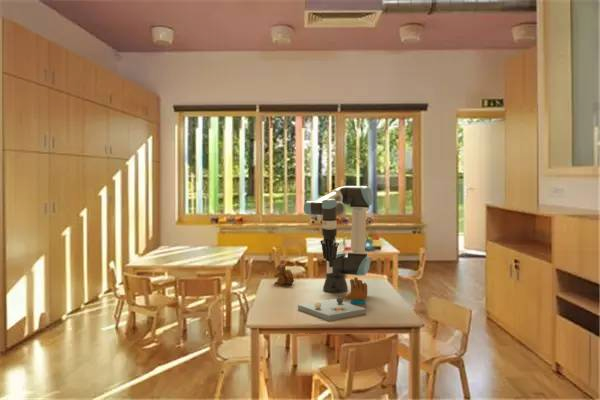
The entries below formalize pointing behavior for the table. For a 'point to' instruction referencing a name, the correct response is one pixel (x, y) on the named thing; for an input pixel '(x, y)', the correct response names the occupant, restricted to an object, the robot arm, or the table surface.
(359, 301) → the toy
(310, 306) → the grey flat plate
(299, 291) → the table surface
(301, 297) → the table surface
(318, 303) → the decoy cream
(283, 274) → the stuffed squirrel
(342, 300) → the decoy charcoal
